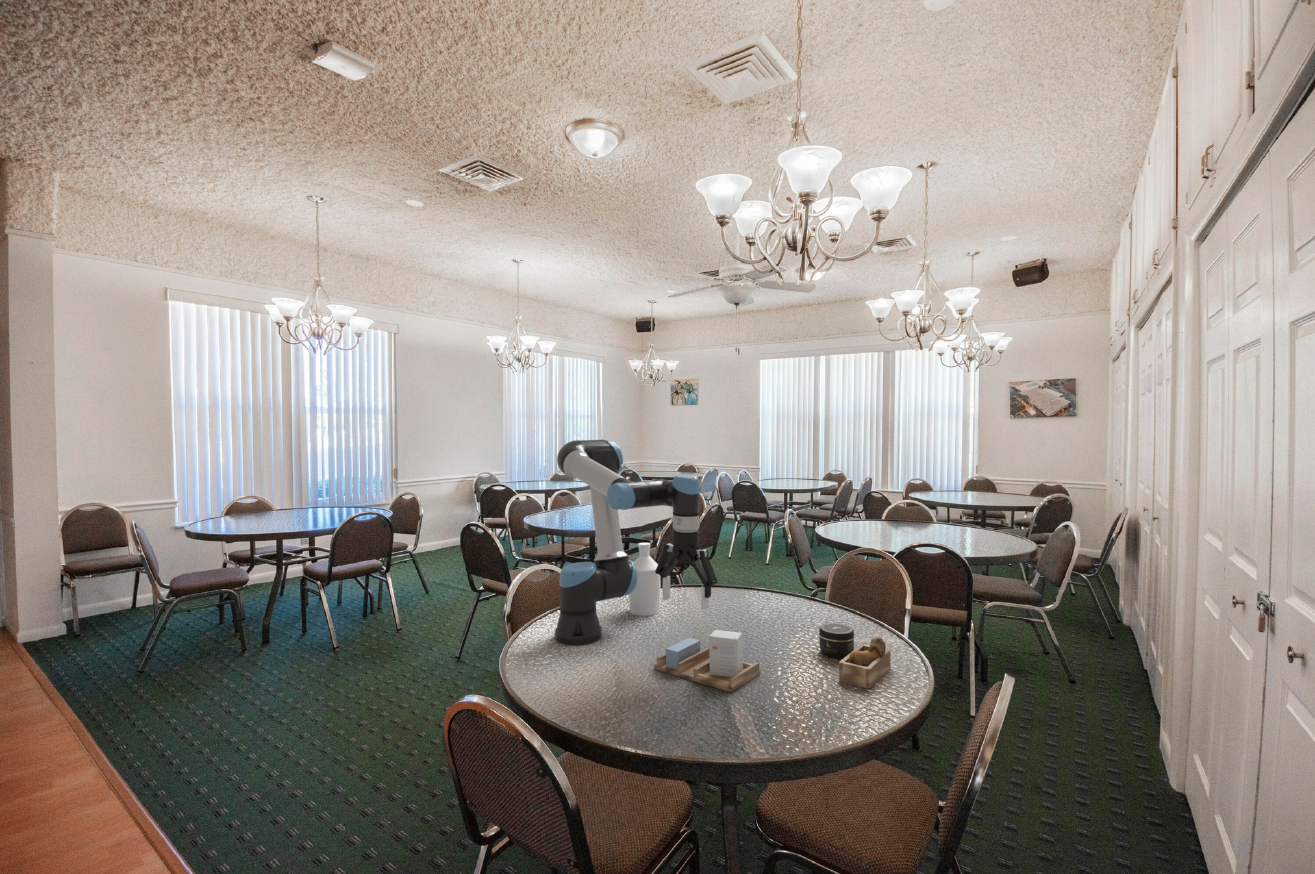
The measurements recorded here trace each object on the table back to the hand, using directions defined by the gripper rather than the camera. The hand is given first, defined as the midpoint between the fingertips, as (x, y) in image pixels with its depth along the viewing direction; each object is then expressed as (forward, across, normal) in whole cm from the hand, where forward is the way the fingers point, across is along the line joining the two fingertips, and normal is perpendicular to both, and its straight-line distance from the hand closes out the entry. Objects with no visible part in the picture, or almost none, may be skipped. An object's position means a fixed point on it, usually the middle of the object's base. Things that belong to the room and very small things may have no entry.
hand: (685, 603), depth 169 cm
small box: (+16, +15, -1) cm, 22 cm away
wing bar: (+16, +1, -2) cm, 16 cm away
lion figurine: (+16, +44, +23) cm, 52 cm away
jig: (+17, +8, -1) cm, 19 cm away
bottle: (+19, -41, +31) cm, 55 cm away
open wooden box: (+16, +44, +23) cm, 52 cm away
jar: (+17, +32, +33) cm, 49 cm away
